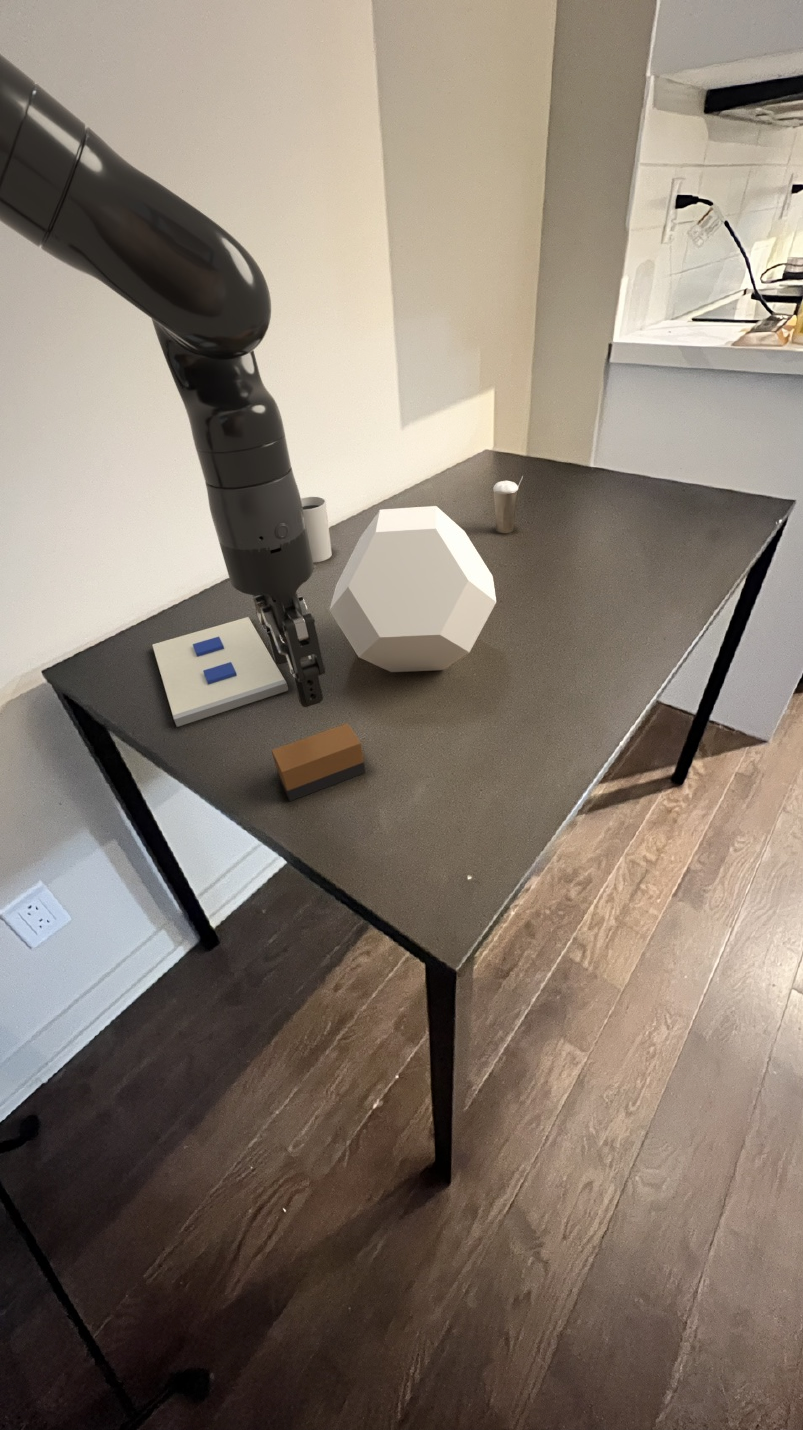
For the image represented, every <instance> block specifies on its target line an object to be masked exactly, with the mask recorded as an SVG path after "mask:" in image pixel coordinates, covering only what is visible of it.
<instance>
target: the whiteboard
mask: <svg viewBox="0 0 803 1430" xmlns="http://www.w3.org/2000/svg"><path fill="white" fill-rule="evenodd" d="M215 637H220V639H221V641H222V644H223V646H224V649H222V650H218V651H215V652H212V653H208V654H205V655H202V656H198V657H197V655H196V652H195V650H194V647H193V644H195V643H198V642H202V641H205V640H208V639H212V638H215ZM152 650H153V653H154V656H155V660H156V664H157V667H158V670H159V673H160V675H161V676H160V677H161V680H162V684H163V687H164V691H165V694H166V697H167V698H166V699H167V700H168V705H169V707H170V712H171V714H172V719H173V721H174V723H175V727H176V728H178V727H183V726H184V725H187V724H190V723H194V722H197V721H200V720H203V719H206V718H209V717H212V716H215V715H219V714H221V713H225V712H228V711H230V710H233V709H236V708H240V707H242V706H243V707H244V706H246V705H248V704H252V703H255V702H257V701H261V700H264V699H267V698H270V697H273V696H276V695H279V694H283V693H286V692H288V691H289V687H288V684H287V681H286V679H285V678H284V676H283V674H282V673H281V671H280V669H279V667H278V665H277V663H276V662H275V660H274V658H273V656H272V655H271V654H270V652H269V650H268V649H267V647H266V645H265V643H264V641H263V639H262V638H261V636H260V634H259V632H258V631H257V629H256V627H255V626H254V623H252V621H251V619H250V617H249V616H246V617H243V618H239V619H237V620H233V621H229V622H226V623H223V624H219V625H216V626H215V625H214V626H212V627H208V628H205V629H201V630H198V631H195V632H190V633H188V634H183V635H180V636H177V637H174V638H171V639H166V640H163V641H160V642H156V643H153V644H152ZM229 662H231V663H232V665H233V667H234V669H235V671H236V674H237V676H234V677H231V678H228V679H224V680H221V681H218V682H215V683H212V684H208V683H207V680H206V678H205V675H204V672H203V670H206V669H210V668H213V667H216V666H219V665H223V664H226V663H229Z"/></svg>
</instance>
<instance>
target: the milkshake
mask: <svg viewBox="0 0 803 1430" xmlns="http://www.w3.org/2000/svg"><path fill="white" fill-rule="evenodd" d="M523 478H524V475H522V476H521V479H520V481H519V483H518V484H517V483H516V482H514V481H510V480H502V481H498V482H496V483H495V484H494V486H493V488H492V490H493V500H494V515H495V519H494V520H495V531H496V532H497V533H500V534H510V533H512V532H513V531H514V528H515V522H516V521H515V519H516V512H517V511H516V510H517V509H516V508H517V502H518V494H519V487H520V484H521V482H522V481H523Z"/></svg>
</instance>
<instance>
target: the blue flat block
mask: <svg viewBox="0 0 803 1430" xmlns="http://www.w3.org/2000/svg"><path fill="white" fill-rule="evenodd" d="M193 647H194V650H195V652H196V655H197V657H198V656H202V655H205V654H208V653H212V652H215V651H218V650H222V649H224V646H223V644H222V641H221V639H220V637H215V638H212V639H208V640H205V641H202V642H198V643H195V644H193Z"/></svg>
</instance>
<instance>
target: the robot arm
mask: <svg viewBox="0 0 803 1430" xmlns="http://www.w3.org/2000/svg"><path fill="white" fill-rule="evenodd" d="M0 222H1V223H3V224H4V225H5V226H7V227H8V228H10V229H11V230H13V231H14V232H15V233H17V234H18V235H20V236H21V237H23V238H24V239H26V240H28V242H30V243H32V244H33V245H35V246H36V247H38V248H39V247H40V248H41V250H42V251H44V252H45V253H47V254H48V255H50V256H51V257H53V258H54V259H56V260H58V261H60V262H61V263H63V264H65V265H67V266H69V267H70V268H72V269H74V270H75V271H78V272H80V273H83V274H85V275H88V276H90V277H92V278H94V279H96V280H97V281H99V282H101V283H102V284H104V285H105V286H106V287H108V288H109V289H110V290H112V291H113V292H115V293H116V294H117V295H119V296H120V297H121V298H123V299H124V300H125V301H127V302H128V303H129V304H131V305H133V306H134V307H135V308H136V309H138V310H140V311H141V312H142V313H144V314H145V315H146V316H148V317H149V318H151V322H152V325H153V328H154V331H155V335H156V337H157V340H158V343H159V347H160V348H161V351H162V354H163V356H164V359H165V362H166V364H167V366H168V369H169V372H170V374H171V377H172V380H173V382H174V384H175V388H176V389H177V392H178V394H179V396H180V398H181V401H182V403H183V406H184V409H185V411H186V415H187V418H188V421H189V425H190V431H191V437H192V441H193V443H194V447H195V451H196V455H197V458H198V461H199V466H200V470H201V473H202V476H203V480H204V482H205V488H206V493H207V499H208V506H209V511H210V512H209V513H210V516H211V519H212V522H213V526H214V529H215V533H216V536H217V540H218V543H219V547H220V550H221V554H222V557H223V558H222V559H223V561H224V564H225V568H226V572H227V575H228V578H229V582H230V584H231V586H232V587H233V588H234V589H235V590H236V591H238V592H239V593H242V594H244V595H250V596H252V599H253V604H254V606H255V610H256V611H255V614H256V617H258V620H259V622H260V625H261V626H262V629H263V630H264V631H265V633H266V635H267V639H268V642H269V646H270V649H271V653H272V658H273V660H274V662H275V664H276V665H284V664H286V663H287V664H288V666H289V672H290V675H291V676H292V678H293V683H294V686H295V690H296V695H297V698H298V701H299V702H298V703H299V704H300V705H301V707H303V708H308V707H311V706H313V705H318V704H320V703H321V702H322V701H323V699H324V697H323V696H324V695H323V691H322V687H321V681H320V677H319V676H323V675H325V674H326V667H325V664H324V660H323V656H322V655H323V654H322V651H321V647H320V642H319V637H318V633H317V628H316V624H315V622H316V620H315V617H314V616H313V615H312V613H311V612H309V613H308V606H307V604H306V601H305V598H304V597H303V596H302V595H300V596H299V595H298V592H297V591H298V590H299V588H301V586H302V585H303V584H304V583H306V582H307V581H308V580H309V579H310V578H311V577H312V575H313V573H314V569H315V564H314V563H313V559H312V554H311V549H310V544H309V538H308V533H307V528H306V523H305V518H304V513H303V508H302V502H301V498H302V497H301V493H300V490H299V487H298V484H297V481H296V477H295V475H294V471H293V467H292V462H291V457H290V452H289V447H288V443H287V438H286V431H285V427H284V421H283V418H282V414H281V411H280V408H279V406H278V403H277V402H276V400H275V398H274V396H273V395H272V394H271V393H270V392H269V391H268V389H267V388H266V386H265V384H264V382H263V380H262V377H261V373H260V369H259V366H258V362H257V358H256V355H255V349H257V347H259V345H260V344H261V343H262V342H263V340H264V338H265V337H266V335H267V332H268V330H269V328H270V324H271V319H272V299H271V293H270V289H269V286H268V283H267V280H266V278H265V275H264V273H263V271H262V270H261V268H260V266H259V264H258V262H257V261H256V260H255V259H254V257H253V255H252V254H251V253H250V252H249V251H248V250H247V249H246V248H245V247H244V246H243V245H242V244H241V243H240V242H239V240H237V239H236V238H235V237H234V236H233V235H232V234H230V233H229V232H228V231H227V230H225V228H223V227H222V226H221V225H220V224H218V223H217V222H215V220H213V219H212V218H210V217H209V216H207V215H206V214H205V213H203V212H202V211H200V210H199V209H197V208H196V207H195V206H194V205H192V204H191V203H189V202H188V201H186V200H185V199H183V198H182V197H180V196H179V195H177V194H176V193H174V192H173V191H172V190H170V189H169V188H167V187H166V186H164V185H162V184H161V183H160V182H159V181H157V180H155V179H153V178H152V177H151V176H149V175H147V174H145V173H144V172H142V171H141V170H139V169H138V168H136V167H135V166H133V165H132V164H131V163H129V161H128V160H126V159H124V157H122V156H121V155H120V154H119V153H118V152H117V151H115V150H114V149H113V148H112V147H111V146H110V145H109V144H108V143H107V142H106V141H105V140H104V139H103V138H102V137H100V135H98V134H97V133H96V132H95V131H94V130H92V128H90V127H89V126H87V127H86V123H84V122H83V121H82V120H81V119H80V118H79V117H78V116H77V115H75V114H74V113H73V112H71V111H70V110H69V109H68V108H67V107H66V106H64V105H63V104H62V103H61V102H60V101H58V100H57V99H56V98H55V97H53V95H52V94H50V93H49V92H48V91H46V90H45V89H44V88H42V86H40V85H39V83H36V82H35V81H34V80H33V79H32V78H31V77H29V75H27V74H26V73H25V72H23V71H22V70H21V69H20V68H18V67H17V66H16V65H15V64H13V62H12V61H10V60H8V59H7V58H6V57H5V56H3V55H2V54H1V53H0ZM306 657H308V659H306V660H303V661H301V660H302V659H303V658H306Z"/></svg>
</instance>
